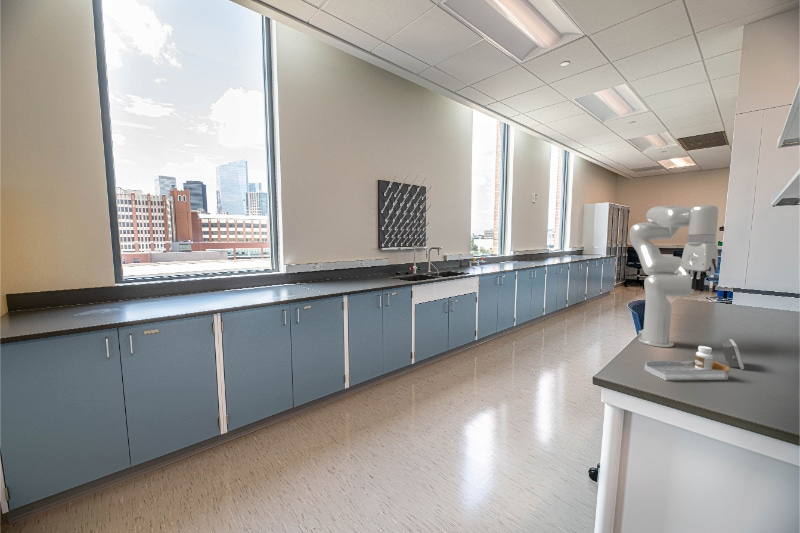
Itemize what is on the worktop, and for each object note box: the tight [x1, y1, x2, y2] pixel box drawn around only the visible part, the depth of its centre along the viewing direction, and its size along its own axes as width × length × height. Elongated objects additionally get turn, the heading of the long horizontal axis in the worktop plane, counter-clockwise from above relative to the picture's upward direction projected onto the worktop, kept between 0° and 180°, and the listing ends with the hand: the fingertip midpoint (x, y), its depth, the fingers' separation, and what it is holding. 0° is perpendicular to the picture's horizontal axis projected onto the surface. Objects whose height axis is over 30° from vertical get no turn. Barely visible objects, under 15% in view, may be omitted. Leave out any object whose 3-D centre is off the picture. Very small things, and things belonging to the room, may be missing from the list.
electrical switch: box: [720, 338, 745, 370], centre depth 123 cm, size 9×5×9 cm, turn 141°
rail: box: [644, 360, 730, 381], centre depth 114 cm, size 9×22×4 cm, turn 92°
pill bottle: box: [694, 345, 714, 370], centre depth 115 cm, size 4×4×8 cm
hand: (697, 289), depth 120 cm, fingers closed
